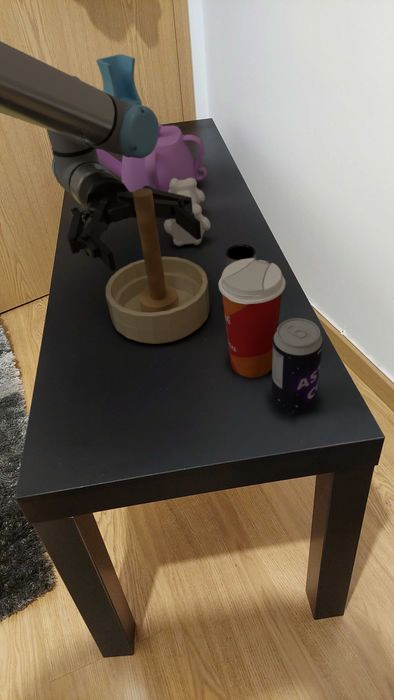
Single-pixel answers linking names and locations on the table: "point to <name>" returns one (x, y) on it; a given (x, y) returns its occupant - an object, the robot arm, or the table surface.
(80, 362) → the table surface
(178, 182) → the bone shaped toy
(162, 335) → the bowl
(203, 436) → the table surface
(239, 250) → the dark grey hollow cylinder
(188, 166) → the teapot
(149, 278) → the brown tall rod post
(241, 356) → the coffee cup
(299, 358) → the beverage can
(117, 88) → the vase
